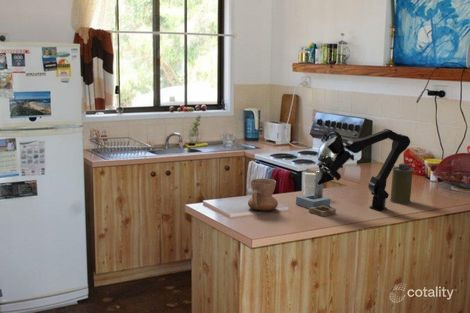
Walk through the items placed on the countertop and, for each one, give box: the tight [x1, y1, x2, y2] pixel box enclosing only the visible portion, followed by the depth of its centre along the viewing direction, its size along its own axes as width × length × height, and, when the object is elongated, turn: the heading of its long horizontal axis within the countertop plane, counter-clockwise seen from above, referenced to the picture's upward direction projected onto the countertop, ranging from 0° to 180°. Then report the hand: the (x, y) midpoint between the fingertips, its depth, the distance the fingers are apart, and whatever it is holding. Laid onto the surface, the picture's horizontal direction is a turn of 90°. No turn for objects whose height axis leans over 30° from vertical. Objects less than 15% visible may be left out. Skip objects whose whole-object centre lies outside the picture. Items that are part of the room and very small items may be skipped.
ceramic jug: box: [247, 177, 279, 212], centre depth 289 cm, size 18×14×14 cm
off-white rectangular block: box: [303, 172, 316, 195], centre depth 319 cm, size 9×9×12 cm
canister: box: [389, 162, 414, 205], centre depth 313 cm, size 11×10×20 cm
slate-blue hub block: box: [295, 194, 331, 209], centre depth 300 cm, size 12×12×4 cm
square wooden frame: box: [308, 205, 337, 217], centre depth 287 cm, size 9×9×2 cm
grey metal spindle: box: [314, 169, 324, 198], centre depth 290 cm, size 4×4×13 cm
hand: (316, 183), depth 289 cm, fingers closed on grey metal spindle, 4 cm apart
